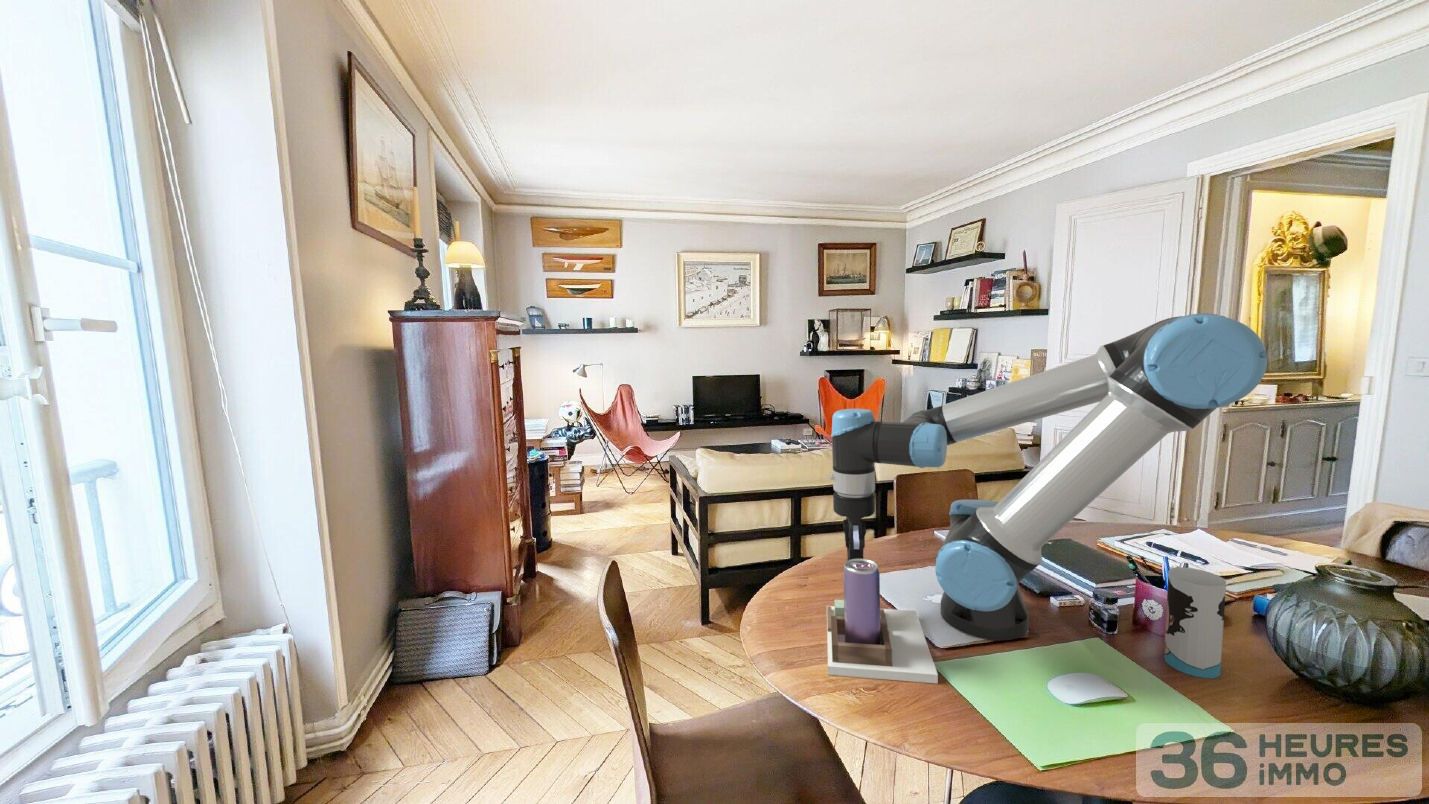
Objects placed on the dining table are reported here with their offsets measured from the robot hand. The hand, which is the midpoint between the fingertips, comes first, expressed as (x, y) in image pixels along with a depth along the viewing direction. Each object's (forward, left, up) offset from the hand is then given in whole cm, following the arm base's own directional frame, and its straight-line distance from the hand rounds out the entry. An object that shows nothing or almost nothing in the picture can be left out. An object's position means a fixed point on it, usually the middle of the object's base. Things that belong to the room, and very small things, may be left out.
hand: (855, 611), depth 100 cm
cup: (-52, +6, -3) cm, 52 cm away
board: (-3, +6, -3) cm, 7 cm away
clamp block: (0, +2, -1) cm, 3 cm away
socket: (0, +10, -1) cm, 10 cm away
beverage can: (-1, +10, -2) cm, 10 cm away
